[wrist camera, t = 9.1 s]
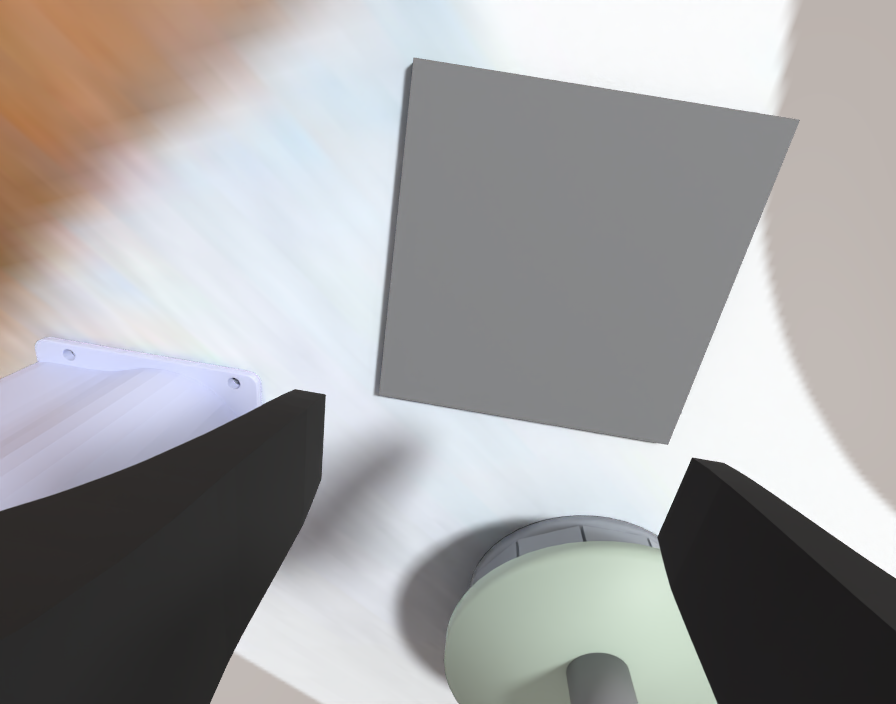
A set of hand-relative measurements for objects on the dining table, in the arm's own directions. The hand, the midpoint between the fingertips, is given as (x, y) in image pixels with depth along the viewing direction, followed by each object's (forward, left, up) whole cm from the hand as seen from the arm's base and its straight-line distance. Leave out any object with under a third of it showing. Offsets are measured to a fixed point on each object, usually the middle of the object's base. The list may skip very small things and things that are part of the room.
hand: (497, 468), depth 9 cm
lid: (+7, -14, -6) cm, 16 cm away
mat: (+2, +2, -9) cm, 10 cm away
